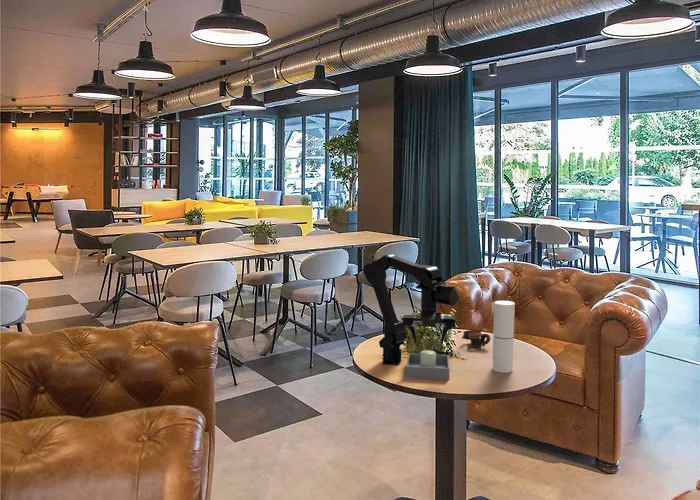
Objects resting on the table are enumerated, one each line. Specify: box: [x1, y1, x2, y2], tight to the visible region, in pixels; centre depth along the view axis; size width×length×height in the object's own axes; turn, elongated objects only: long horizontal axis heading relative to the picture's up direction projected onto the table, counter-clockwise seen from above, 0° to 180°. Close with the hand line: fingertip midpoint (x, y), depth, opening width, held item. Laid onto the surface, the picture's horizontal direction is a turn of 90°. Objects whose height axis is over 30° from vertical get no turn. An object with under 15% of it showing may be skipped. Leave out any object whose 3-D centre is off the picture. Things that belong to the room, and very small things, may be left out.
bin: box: [405, 353, 450, 381], centre depth 205 cm, size 15×15×4 cm
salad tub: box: [419, 349, 437, 368], centre depth 205 cm, size 6×6×6 cm
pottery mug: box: [461, 329, 491, 350], centre depth 235 cm, size 12×9×8 cm
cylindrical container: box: [491, 300, 516, 374], centre depth 206 cm, size 7×7×25 cm
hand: (428, 344), depth 204 cm, fingers open, 9 cm apart
